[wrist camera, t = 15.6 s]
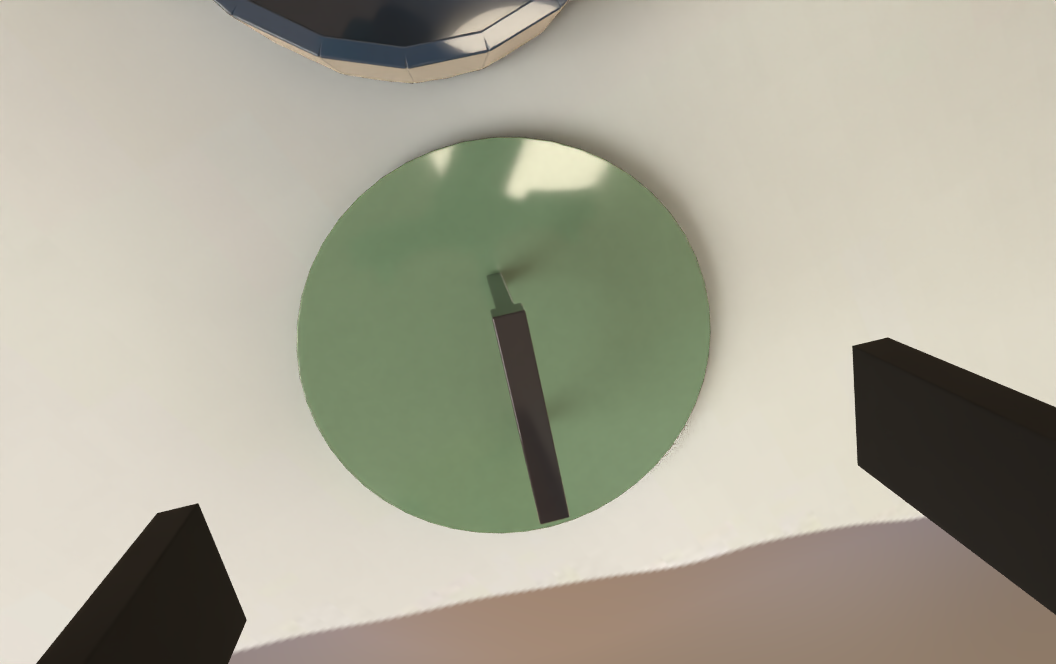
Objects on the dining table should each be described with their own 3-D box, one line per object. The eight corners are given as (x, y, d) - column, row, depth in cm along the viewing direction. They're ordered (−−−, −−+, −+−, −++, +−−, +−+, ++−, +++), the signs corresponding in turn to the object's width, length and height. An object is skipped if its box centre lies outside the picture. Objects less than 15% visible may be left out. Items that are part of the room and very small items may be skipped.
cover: (674, 96, 27) (774, 73, 19) (720, 469, 33) (812, 578, 25) (242, 189, 26) (146, 209, 18) (368, 559, 32) (340, 704, 24)
